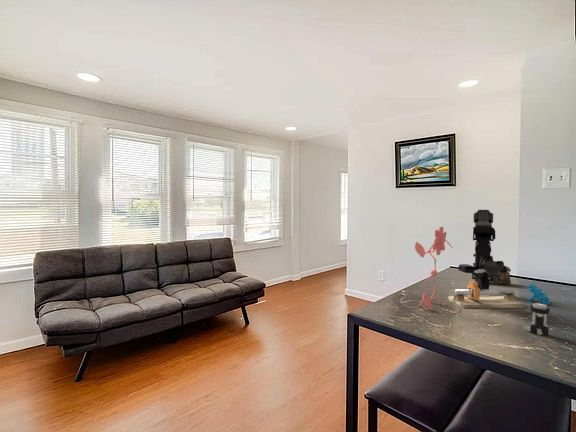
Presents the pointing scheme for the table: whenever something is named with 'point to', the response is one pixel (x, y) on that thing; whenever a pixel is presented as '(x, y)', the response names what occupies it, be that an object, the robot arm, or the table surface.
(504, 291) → the tube stand
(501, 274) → the brown carved figurine
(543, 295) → the gear
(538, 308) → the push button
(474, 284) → the collar
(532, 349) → the table surface
